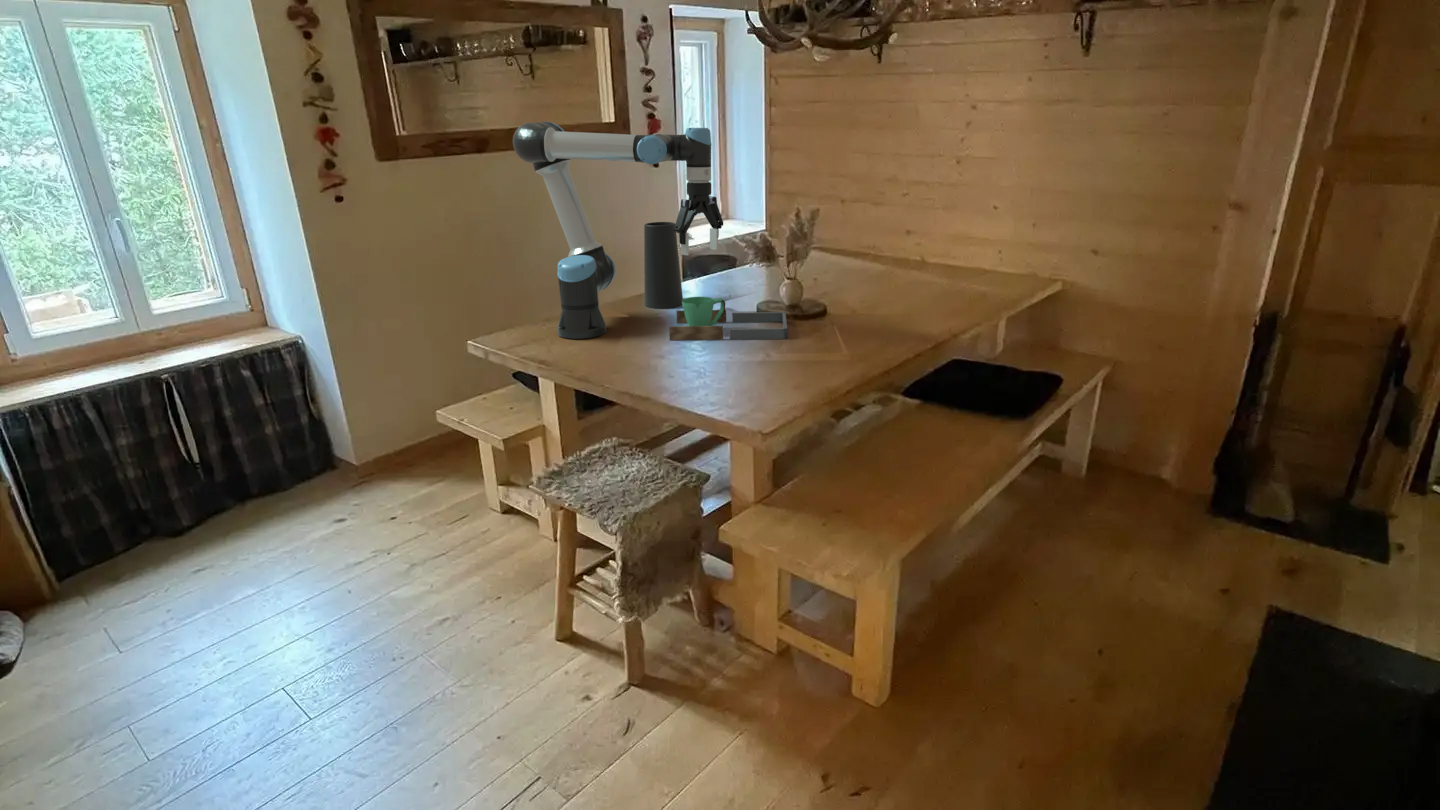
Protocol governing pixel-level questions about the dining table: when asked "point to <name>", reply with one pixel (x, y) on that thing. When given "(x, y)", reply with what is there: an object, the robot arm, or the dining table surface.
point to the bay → (696, 329)
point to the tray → (762, 332)
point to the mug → (702, 310)
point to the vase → (661, 266)
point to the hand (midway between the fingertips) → (699, 252)
